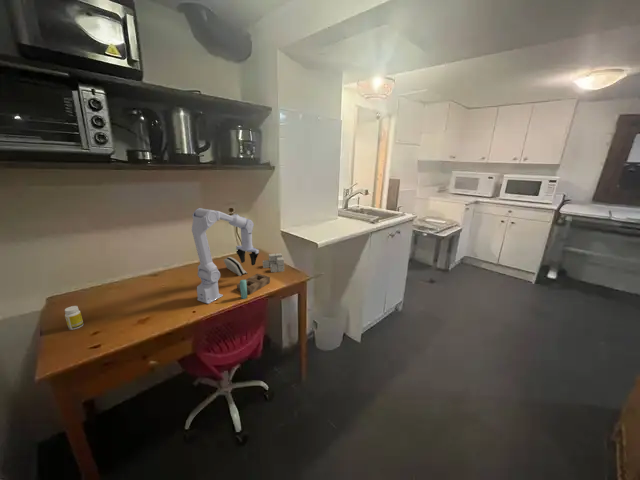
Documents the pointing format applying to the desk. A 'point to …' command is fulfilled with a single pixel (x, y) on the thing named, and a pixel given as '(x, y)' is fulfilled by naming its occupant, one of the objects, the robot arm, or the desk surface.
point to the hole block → (255, 283)
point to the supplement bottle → (73, 317)
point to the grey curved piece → (234, 266)
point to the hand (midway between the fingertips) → (248, 263)
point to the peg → (243, 289)
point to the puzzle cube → (274, 262)
